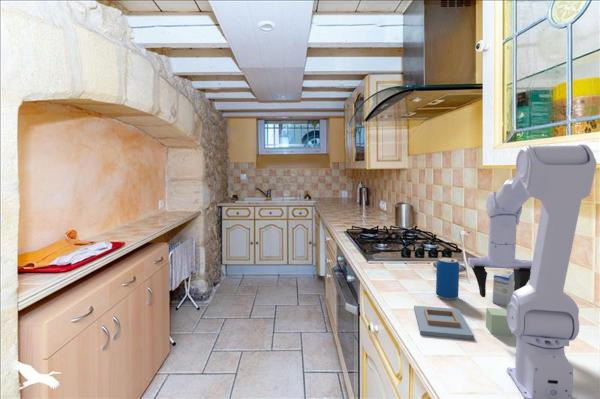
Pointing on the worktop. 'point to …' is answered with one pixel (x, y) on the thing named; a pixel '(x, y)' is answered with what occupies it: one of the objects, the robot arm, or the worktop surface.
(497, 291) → the medicine box
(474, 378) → the worktop surface
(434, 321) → the board
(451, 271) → the beverage can
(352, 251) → the worktop surface
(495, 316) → the sage block
